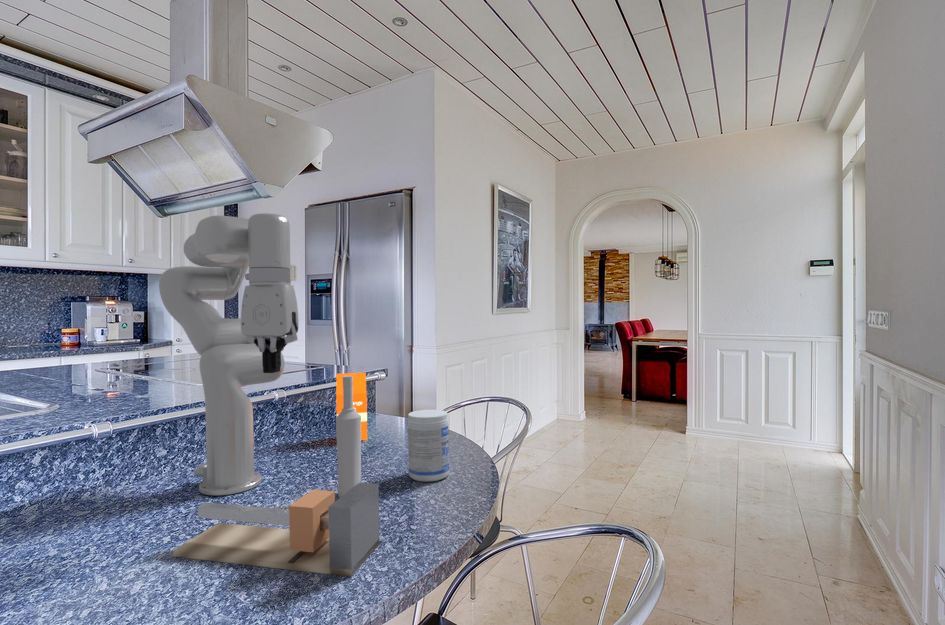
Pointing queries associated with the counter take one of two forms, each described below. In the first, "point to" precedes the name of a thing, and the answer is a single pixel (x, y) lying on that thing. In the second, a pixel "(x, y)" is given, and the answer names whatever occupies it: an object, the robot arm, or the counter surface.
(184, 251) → the robot arm
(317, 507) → the tan notched block
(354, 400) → the orange juice
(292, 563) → the base board
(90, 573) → the counter surface
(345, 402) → the bottle
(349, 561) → the slider rail assembly
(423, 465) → the supplement tub
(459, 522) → the counter surface
